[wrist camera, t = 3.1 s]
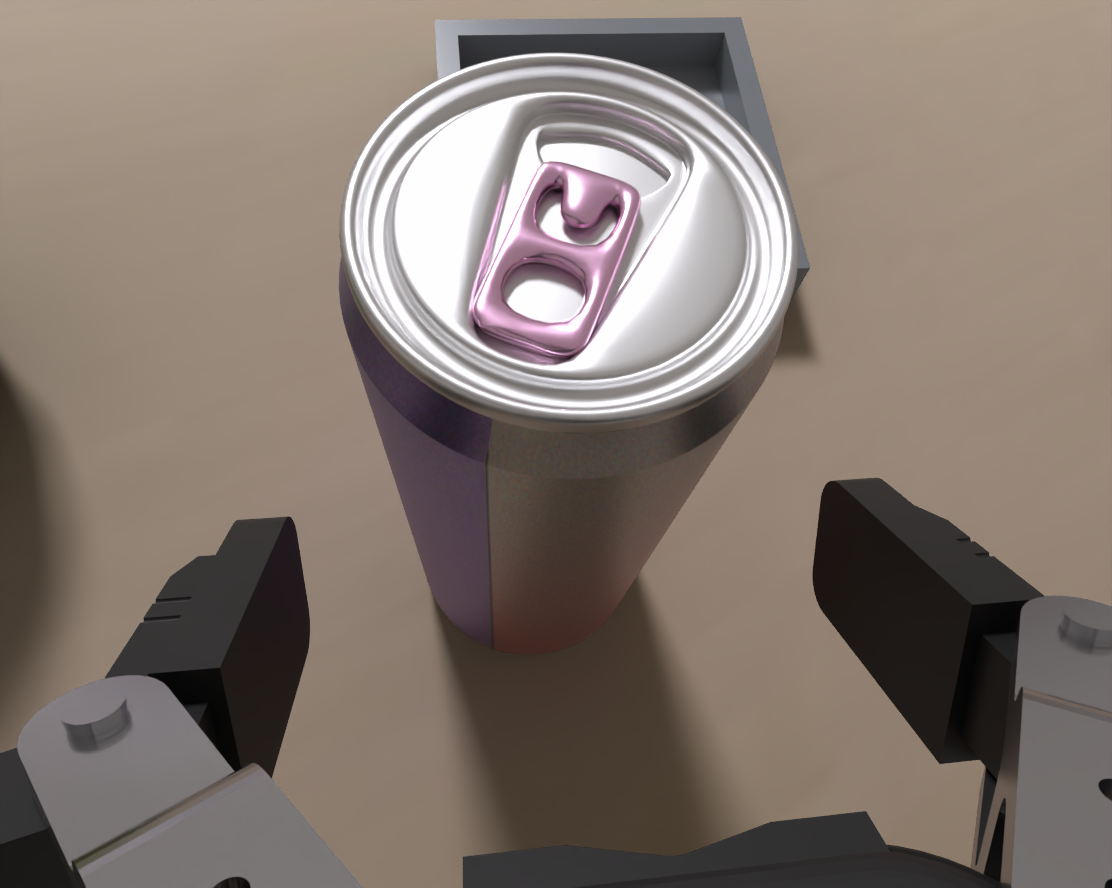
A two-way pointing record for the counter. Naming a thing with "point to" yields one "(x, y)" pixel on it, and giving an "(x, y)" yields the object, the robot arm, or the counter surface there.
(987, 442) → the counter surface
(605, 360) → the beverage can
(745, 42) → the tray
